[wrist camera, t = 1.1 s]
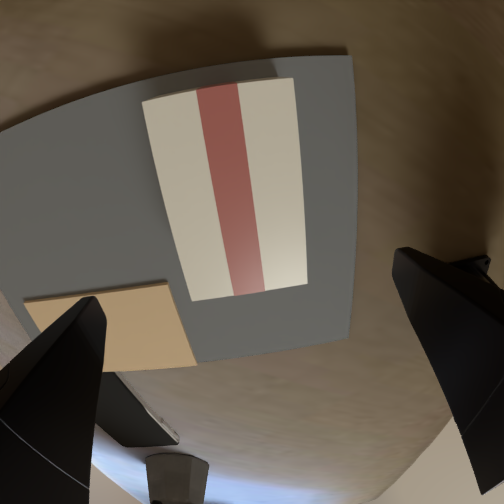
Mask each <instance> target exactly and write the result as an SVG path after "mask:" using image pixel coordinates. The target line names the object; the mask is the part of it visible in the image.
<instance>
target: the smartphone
mask: <svg viewBox="0 0 504 504" xmlns="http://www.w3.org/2000/svg"><path fill="white" fill-rule="evenodd" d="M95 423H96V424H97V425H98V426H100V427H101V428H102V429H103V430H104V431H105V432H106V433H108V434H109V435H110V436H111V437H112V438H113V439H115V440H116V441H117V442H118V443H119V444H121V445H122V446H124V447H152V446H168V445H178V444H179V436H178V435H177V434H176V433H175V432H174V430H173V429H172V428H171V427H170V426H169V425H168V424H167V423H166V422H165V421H164V420H163V419H161V418H160V417H159V416H158V415H157V414H156V413H155V412H154V411H153V409H152V408H151V407H150V406H149V405H148V404H147V403H146V402H145V401H144V400H143V398H142V397H141V396H140V395H139V394H138V393H137V392H136V390H135V389H134V388H133V387H132V386H131V385H130V384H129V382H128V381H127V380H126V379H125V378H124V376H123V375H122V374H121V373H120V372H119V371H115V372H102V378H101V384H100V390H99V397H98V404H97V411H96V419H95Z"/></svg>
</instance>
